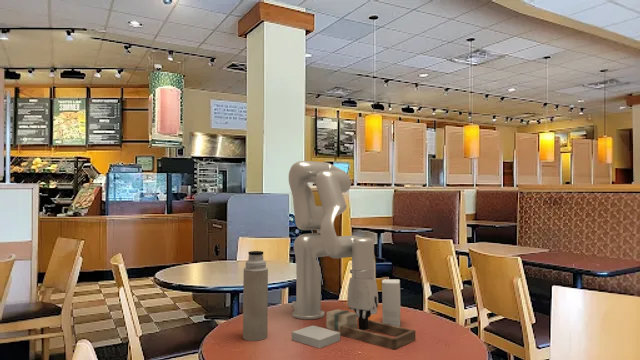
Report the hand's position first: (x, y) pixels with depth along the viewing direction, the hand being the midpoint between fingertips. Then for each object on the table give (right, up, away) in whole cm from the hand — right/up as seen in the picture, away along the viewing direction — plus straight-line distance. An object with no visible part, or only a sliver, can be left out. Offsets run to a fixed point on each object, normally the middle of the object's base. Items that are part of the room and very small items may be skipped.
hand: (363, 329), depth 149 cm
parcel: (-7, -2, +6) cm, 9 cm away
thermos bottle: (-36, -2, -4) cm, 36 cm away
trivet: (-16, -1, -7) cm, 17 cm away
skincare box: (+11, -2, +12) cm, 17 cm away
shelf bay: (+4, -1, -3) cm, 5 cm away
